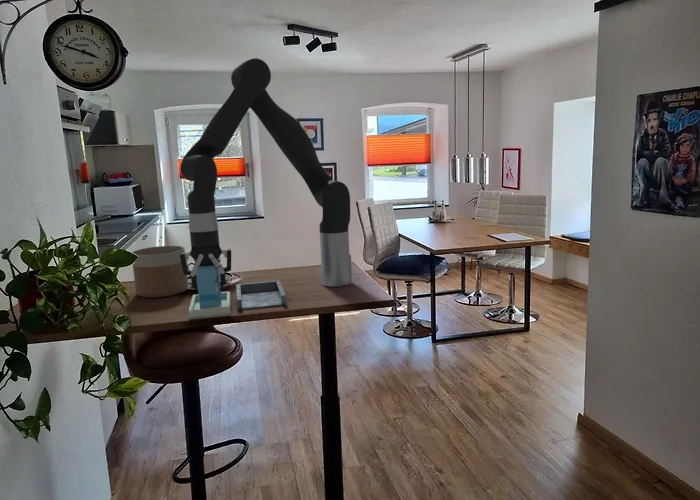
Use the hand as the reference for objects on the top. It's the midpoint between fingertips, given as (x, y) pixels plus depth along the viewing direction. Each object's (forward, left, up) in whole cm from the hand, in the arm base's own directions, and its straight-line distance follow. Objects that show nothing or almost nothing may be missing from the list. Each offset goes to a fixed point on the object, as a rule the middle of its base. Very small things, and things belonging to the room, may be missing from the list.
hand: (209, 287), depth 147 cm
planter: (+16, -25, -6) cm, 30 cm away
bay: (-14, -5, -6) cm, 16 cm away
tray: (0, 0, -6) cm, 6 cm away
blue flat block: (0, 0, -6) cm, 6 cm away
